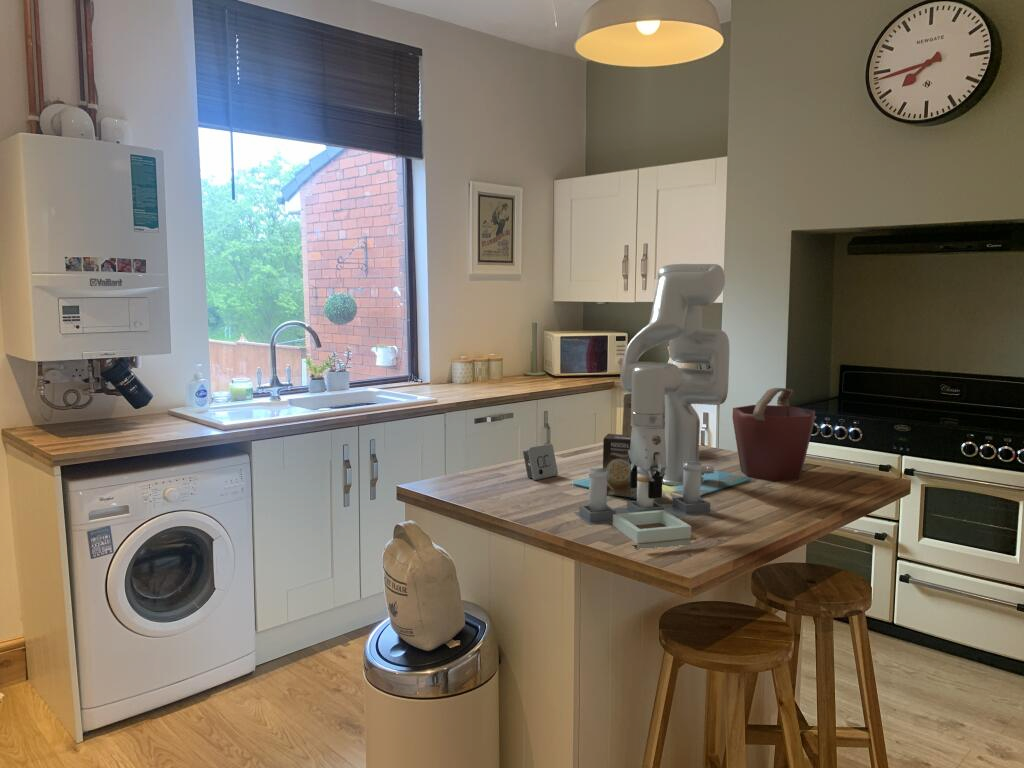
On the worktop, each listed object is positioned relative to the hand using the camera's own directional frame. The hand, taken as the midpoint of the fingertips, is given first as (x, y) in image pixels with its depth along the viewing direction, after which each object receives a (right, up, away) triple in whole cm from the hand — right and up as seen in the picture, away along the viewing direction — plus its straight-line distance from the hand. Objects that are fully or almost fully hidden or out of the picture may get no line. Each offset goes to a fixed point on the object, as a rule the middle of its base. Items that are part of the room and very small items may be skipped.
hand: (645, 492), depth 181 cm
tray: (-1, -8, -13) cm, 15 cm away
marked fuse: (0, -5, +1) cm, 5 cm away
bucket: (+45, -1, +44) cm, 63 cm away
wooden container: (+13, +3, +77) cm, 78 cm away
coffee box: (-3, -4, +19) cm, 19 cm away
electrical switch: (-23, -1, +41) cm, 47 cm away
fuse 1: (-11, -5, -3) cm, 13 cm away
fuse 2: (+12, -4, +4) cm, 13 cm away
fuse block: (0, -6, +1) cm, 6 cm away
